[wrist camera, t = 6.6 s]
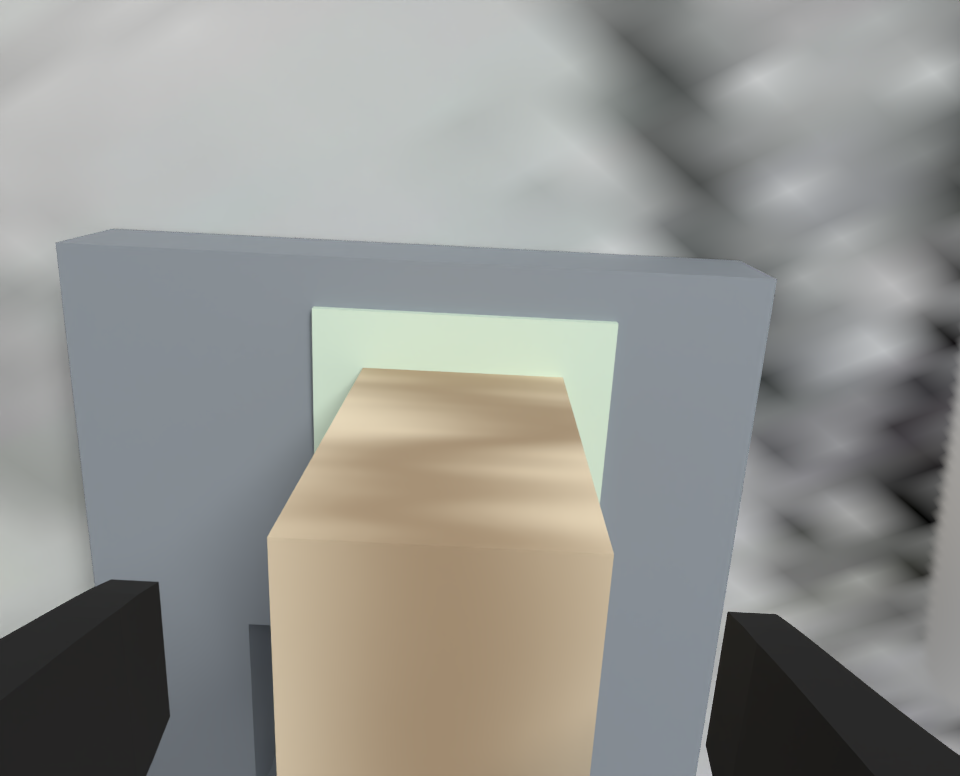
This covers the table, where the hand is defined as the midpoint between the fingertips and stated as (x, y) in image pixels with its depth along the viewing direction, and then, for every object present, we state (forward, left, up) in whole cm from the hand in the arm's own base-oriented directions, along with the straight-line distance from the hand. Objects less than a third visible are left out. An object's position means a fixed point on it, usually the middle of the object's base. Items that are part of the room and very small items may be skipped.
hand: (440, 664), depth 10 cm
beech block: (0, 0, -7) cm, 7 cm away
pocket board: (+1, +4, -9) cm, 10 cm away
